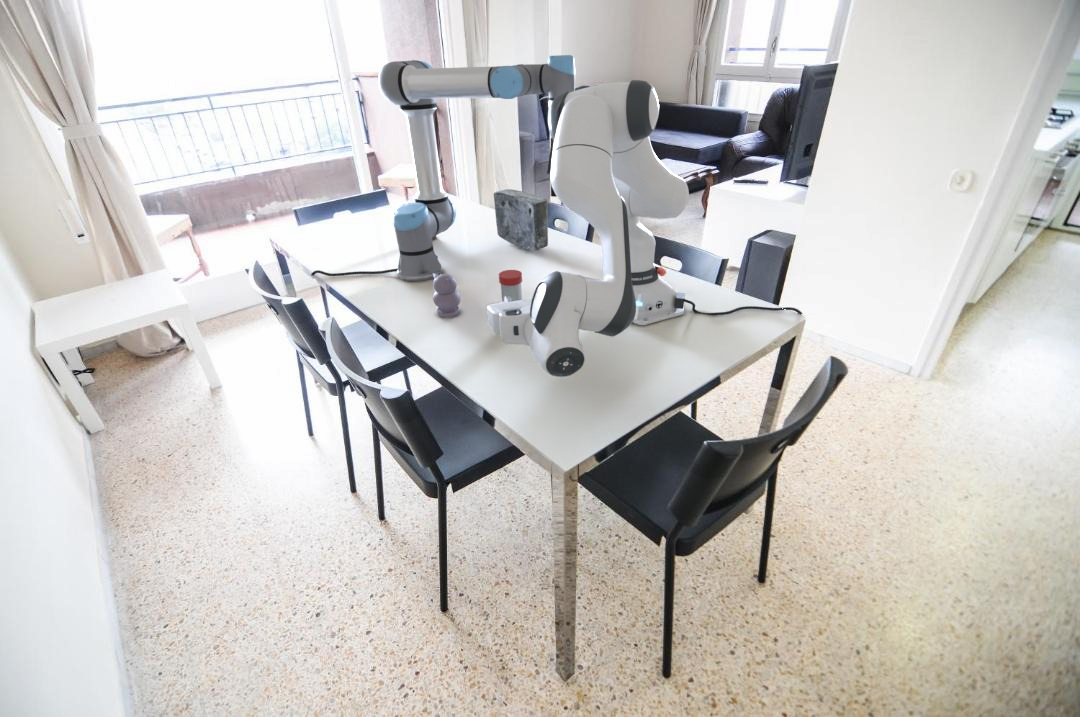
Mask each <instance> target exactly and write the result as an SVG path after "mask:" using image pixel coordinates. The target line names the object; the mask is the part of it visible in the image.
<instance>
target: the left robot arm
mask: <svg viewBox="0 0 1080 717" xmlns="http://www.w3.org/2000/svg"><path fill="white" fill-rule="evenodd" d="M377 85H378V89H379V92H380V93H381V95H382V96H383V97H384V99H385V100H387V101H388V102H389V103H390V104H393V105H396V106H399V111H400V112H401V113H403V114H404V116H405V119H406V124H407V125H406V126H407V132H408V137H409V144H410V151H411V156H412V162H413V170H414V175H415V176H414V177H415V182H416V187H417V192H416V193H415V194H414V202H409V203H407V204H406V203H404V204H402V205H400V206H398V207H396V208H395V209H394V210H393V213H392V219H393V221H392V224H393V227H394V230H395V231H394V232H395V236H396V241H397V247H398V251H399V259H398V265H397V268H392V269H385V270H375V271H370V270H366V271H364V270H363V271H362V270H361V271H360V270H359V271H347V272H338V273H337V272H336V273H335V272H334V273H331V272H326V271H323V270H318V269H317V270H313V271H312V272H311V274H310V276H315V275H316V274H321V275H323V276H328V277H342V276H344V277H345V276H350V275H351V276H354V275H381V274H388V273H395V272H397V276H398V278H399V279H400V280H402V281H406V282H413V283H414V282H425V281H429V280H432V279H433V280H434V276H433V273H434V274H437V275H441V274H443V268H442V264H441V263H440V260H439V257H438V255H437V254H436V252H435V250H434V243H433V240H432V237H434V236H436V237H437V236H438V235H439V234H441V233H444V232H446V231H447V230H449V228H451V227H452V226H453V225H454V223H455V221H456V216H457V212H456V207H455V205H454V202H452V201H451V199H450V198H449V194H448V192H447V191H445V190H444V188H443V182H442V174H441V167H440V160H439V153H438V152H439V151H438V145H437V137H436V130H435V122H434V113H435V111H436V110H437V101H436V100H437V99H439V100H440V99H502V100H513V99H515V98H518V97H523V96H524V97H525V96H529V95H547V94H548V108H549V107H550V104H551V103H552V101H553V100H554V98H555V97H556V96H558V95H560V94H562V93H564V92H567V91H571V92H573V91H576V66H575V57H574V56H573V55H572V54H562V55H561V54H560V55H559V54H558V55H549V56H548V57H547V63H541V64H539V63H538V64H533V63H531V64H529V63H528V64H524V63H521V64H513V65H499V66H498V65H497V66H469V67H468V66H467V67H466V66H465V67H464V66H463V67H433V66H431V65H430V64H429V63H428V62H425V61H424V60H423V61H422V60H416V59H412V60H400V61H399V60H398V61H397V60H395V61H391V62H387V63H386V64H384V65H383V66H382V67H381V69H380V71H379V72H378V77H377ZM553 145H554V140H553V139H552V137H550V148H549V154H548V165H547V170H546V172H547V175H551V160H552V152H553ZM550 197H552V198H553V197H554V198H555V197H556V198H558V197H557V196H556V194H555V192H554V190H553V188H552V185H551V184H550Z"/></svg>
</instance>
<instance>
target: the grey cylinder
mask: <svg viewBox="0 0 1080 717" xmlns="http://www.w3.org/2000/svg"><path fill="white" fill-rule="evenodd" d="M500 291H501V303H502V302H503V301H504V297H510V296H511V298H512V301H519V300H523V293H522V292H523V290H522V282H521V283H520V284H518V285H513V286H506V285H502V284H500Z"/></svg>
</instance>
